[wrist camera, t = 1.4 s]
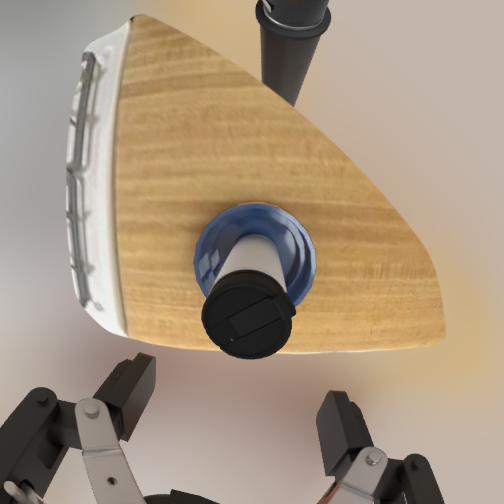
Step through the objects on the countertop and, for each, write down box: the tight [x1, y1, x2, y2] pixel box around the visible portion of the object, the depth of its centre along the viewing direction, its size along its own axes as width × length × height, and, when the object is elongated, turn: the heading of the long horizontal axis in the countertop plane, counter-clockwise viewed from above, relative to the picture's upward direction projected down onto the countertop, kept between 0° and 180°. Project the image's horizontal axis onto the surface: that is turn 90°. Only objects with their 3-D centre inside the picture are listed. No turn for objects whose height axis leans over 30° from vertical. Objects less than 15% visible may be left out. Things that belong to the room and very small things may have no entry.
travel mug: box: [201, 233, 296, 359], centre depth 27 cm, size 6×7×20 cm
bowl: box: [194, 201, 316, 307], centre depth 34 cm, size 14×14×6 cm
